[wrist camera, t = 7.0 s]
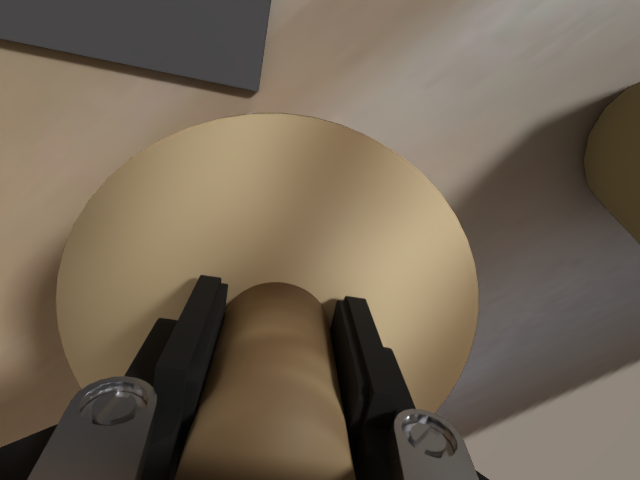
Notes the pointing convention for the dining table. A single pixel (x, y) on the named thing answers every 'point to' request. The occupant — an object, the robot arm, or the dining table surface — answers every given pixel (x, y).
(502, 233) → the dining table surface
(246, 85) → the mat
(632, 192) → the squeeze bottle
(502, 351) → the dining table surface
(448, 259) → the lid
